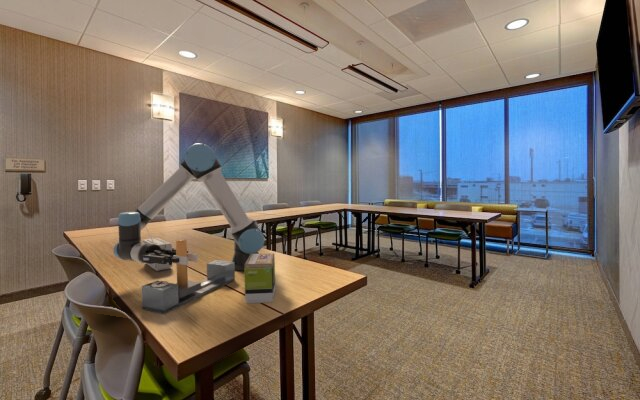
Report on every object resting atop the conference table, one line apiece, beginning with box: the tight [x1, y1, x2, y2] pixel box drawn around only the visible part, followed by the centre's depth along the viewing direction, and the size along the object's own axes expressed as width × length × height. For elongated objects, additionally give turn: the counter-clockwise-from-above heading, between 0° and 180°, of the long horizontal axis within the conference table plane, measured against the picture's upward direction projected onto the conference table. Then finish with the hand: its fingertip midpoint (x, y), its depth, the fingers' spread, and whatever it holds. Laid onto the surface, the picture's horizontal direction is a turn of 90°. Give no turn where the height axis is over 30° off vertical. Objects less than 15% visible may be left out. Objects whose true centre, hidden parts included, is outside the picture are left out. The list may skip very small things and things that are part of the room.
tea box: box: [243, 252, 276, 304], centre depth 112 cm, size 15×10×15 cm, turn 5°
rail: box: [141, 259, 236, 315], centre depth 115 cm, size 36×10×9 cm, turn 158°
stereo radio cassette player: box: [142, 227, 173, 272], centre depth 150 cm, size 21×8×20 cm, turn 45°
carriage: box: [175, 238, 201, 298], centre depth 109 cm, size 10×8×19 cm
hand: (191, 259), depth 107 cm, fingers closed on carriage, 4 cm apart
